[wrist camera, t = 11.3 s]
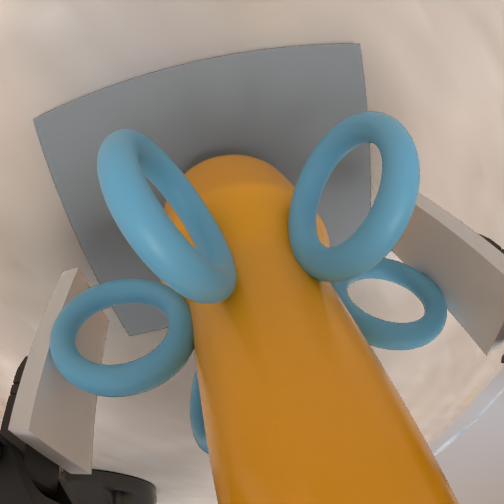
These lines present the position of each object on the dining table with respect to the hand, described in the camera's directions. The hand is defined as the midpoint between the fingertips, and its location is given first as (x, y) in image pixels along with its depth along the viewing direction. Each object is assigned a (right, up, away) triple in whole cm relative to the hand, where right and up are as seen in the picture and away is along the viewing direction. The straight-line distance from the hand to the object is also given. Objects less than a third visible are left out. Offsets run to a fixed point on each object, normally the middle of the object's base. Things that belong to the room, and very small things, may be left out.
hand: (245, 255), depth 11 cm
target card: (-1, +3, +5) cm, 6 cm away
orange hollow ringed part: (-1, +2, +3) cm, 4 cm away
